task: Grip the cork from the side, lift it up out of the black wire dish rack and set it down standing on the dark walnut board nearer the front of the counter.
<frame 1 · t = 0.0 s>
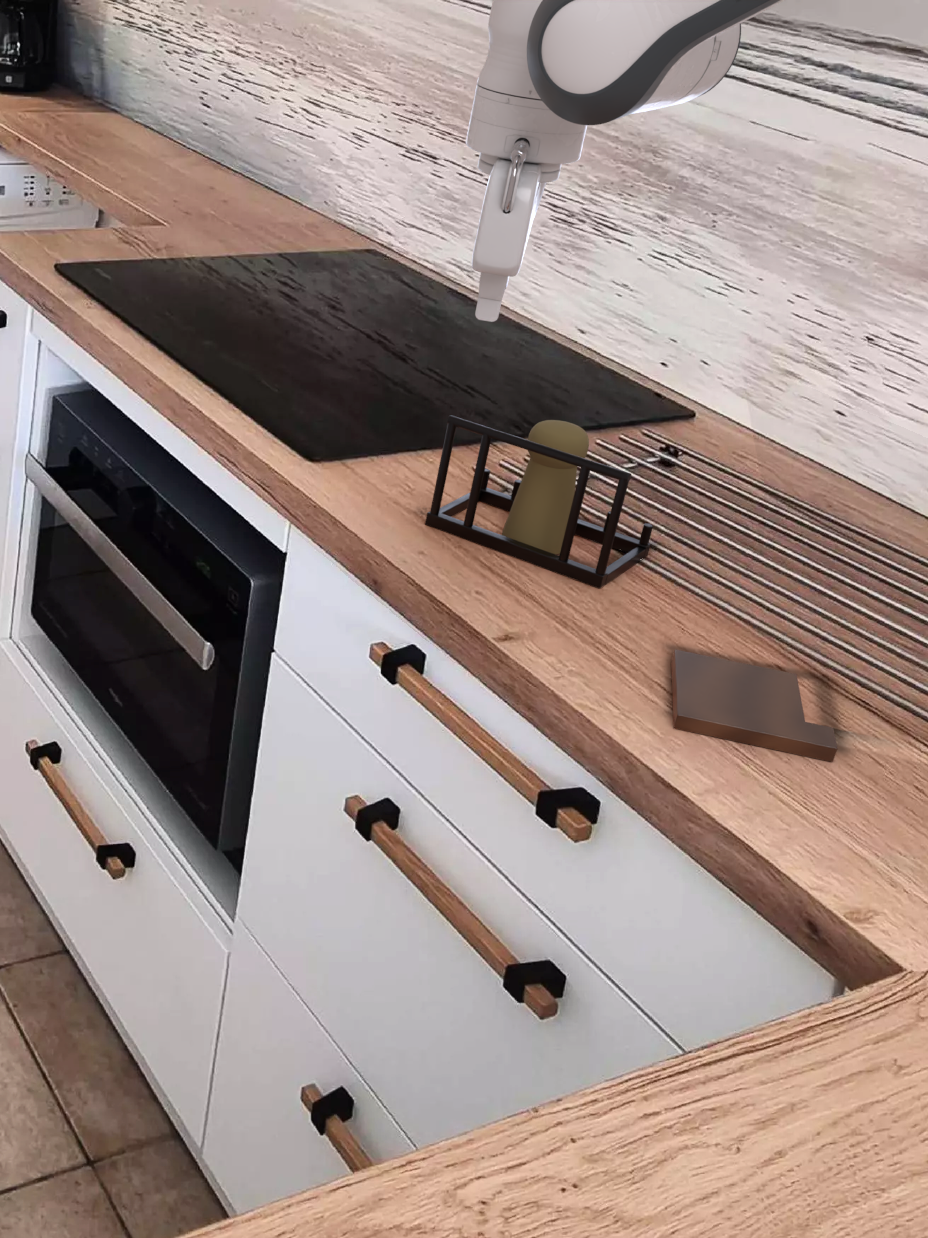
hand: (490, 303, 136), 22 cm above the table, tool pointing down, fingers open, 8 cm apart
cork: (534, 542, 150), resting in dish rack
dish rack: (535, 540, 150), on the table
walnut board: (748, 710, 124), on the table
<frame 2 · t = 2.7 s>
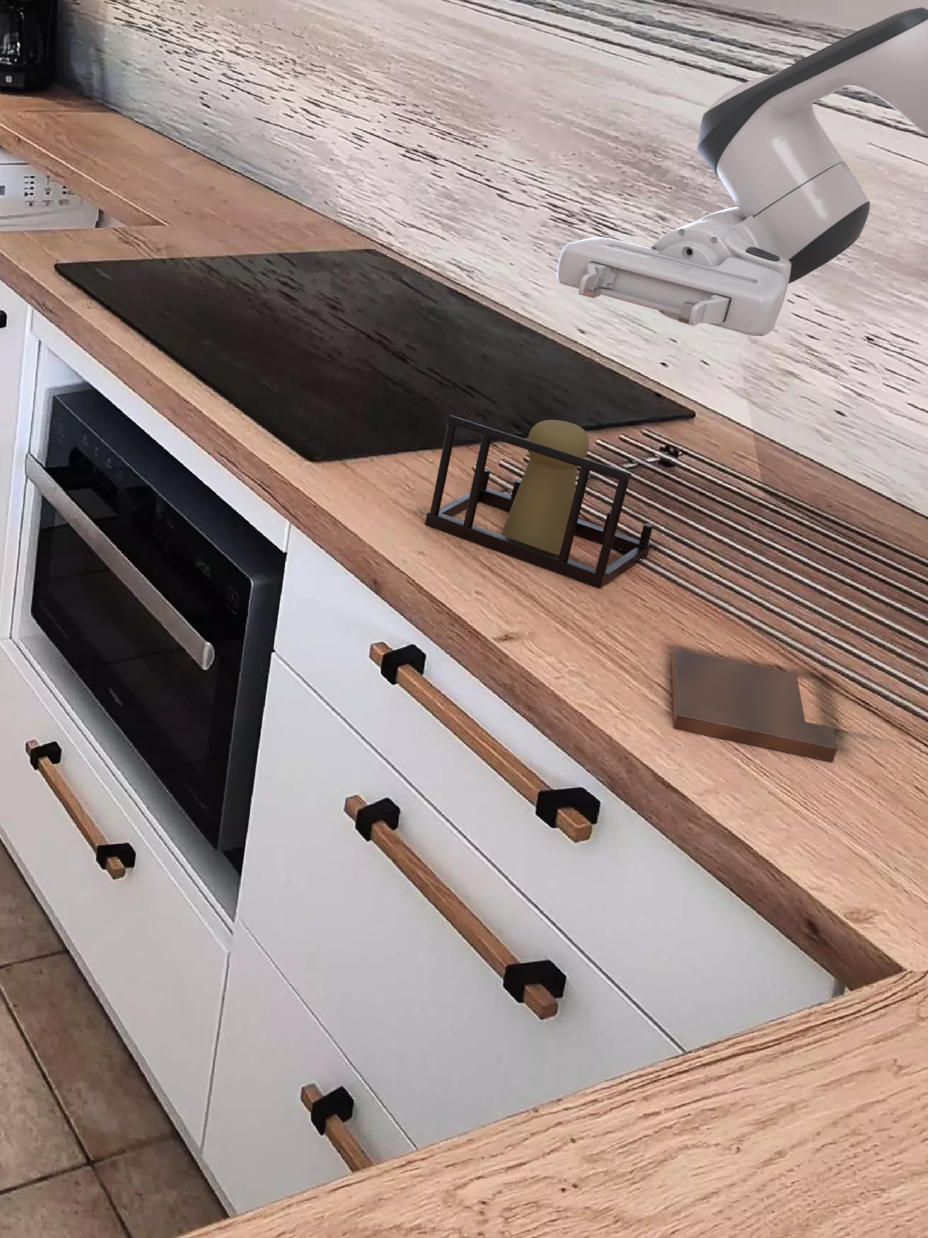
hand: (636, 301, 148), 20 cm above the table, tool horizontal, fingers open, 8 cm apart
nothing on the table moved.
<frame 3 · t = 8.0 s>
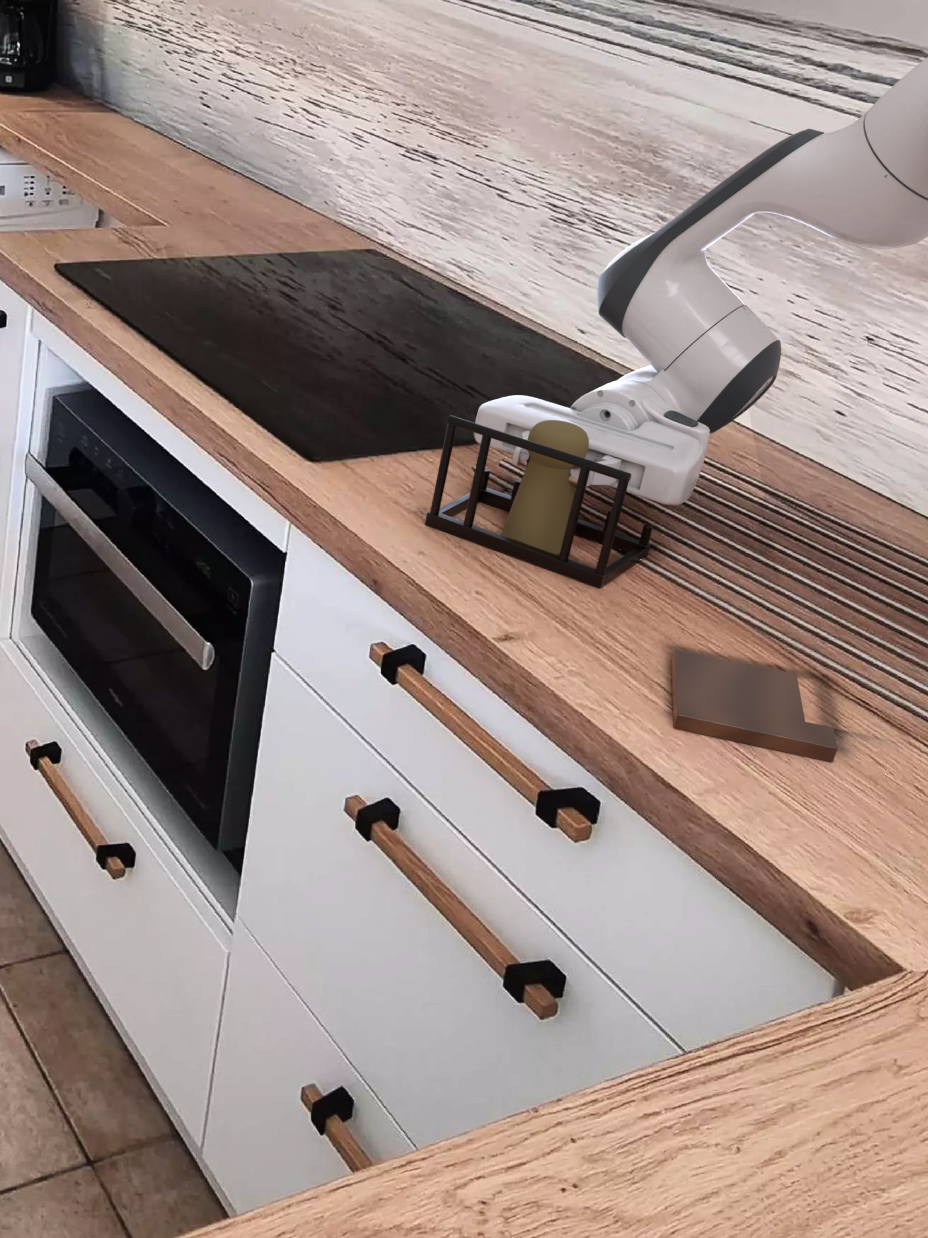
hand: (548, 468, 146), 7 cm above the table, tool horizontal, fingers closed on cork, 4 cm apart
cork: (534, 542, 150), resting in dish rack, touching gripper
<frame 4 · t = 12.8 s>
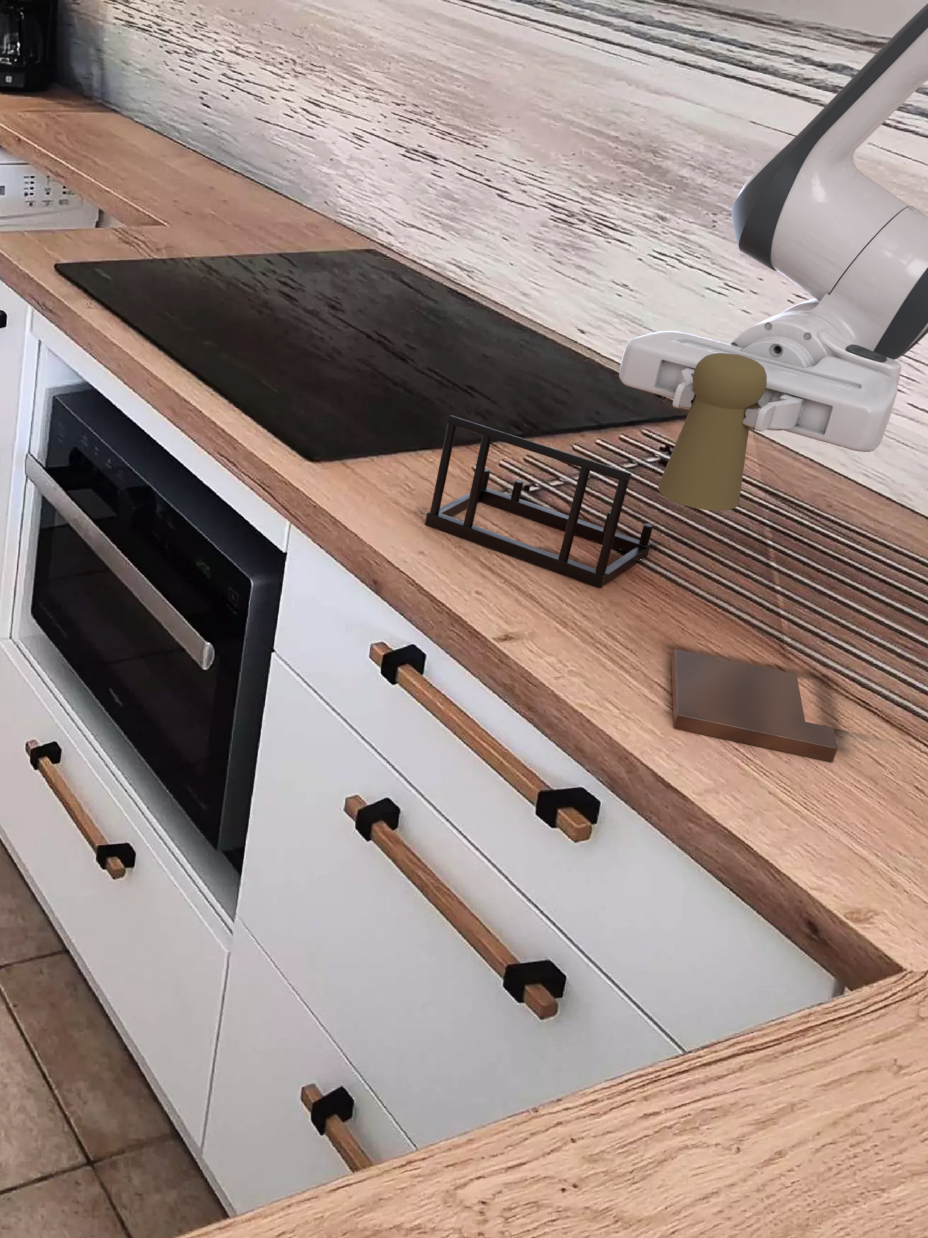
hand: (718, 409, 124), 20 cm above the table, tool horizontal, fingers closed on cork, 4 cm apart
cork: (697, 497, 128), point 12 cm above the table, touching gripper
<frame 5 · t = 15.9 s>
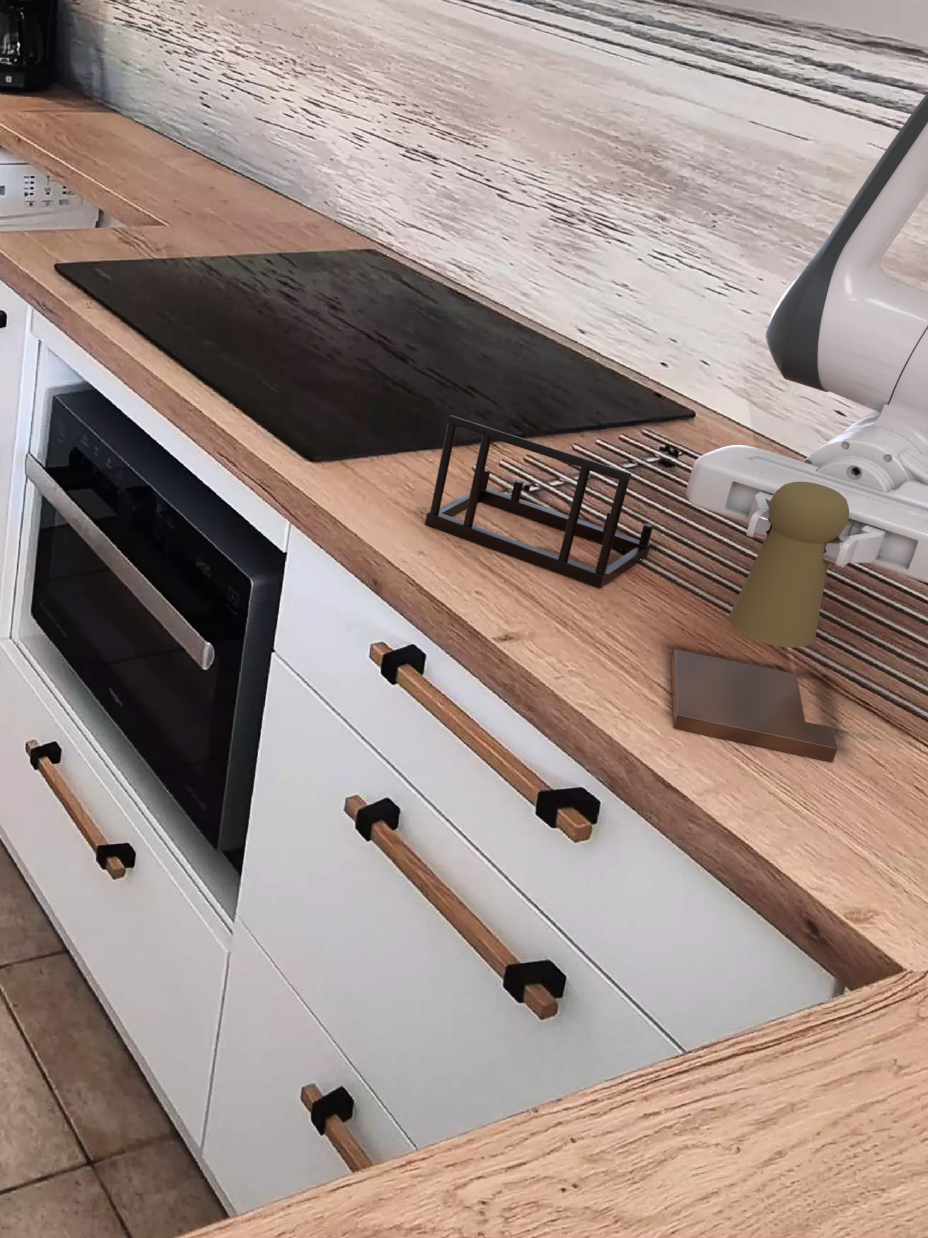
hand: (796, 541, 117), 14 cm above the table, tool horizontal, fingers closed on cork, 4 cm apart
cork: (770, 630, 122), point 7 cm above the table, touching gripper
when the fingers open (8 cm above the table, at t = 17.9 s): cork stays where it is, resting on walnut board.
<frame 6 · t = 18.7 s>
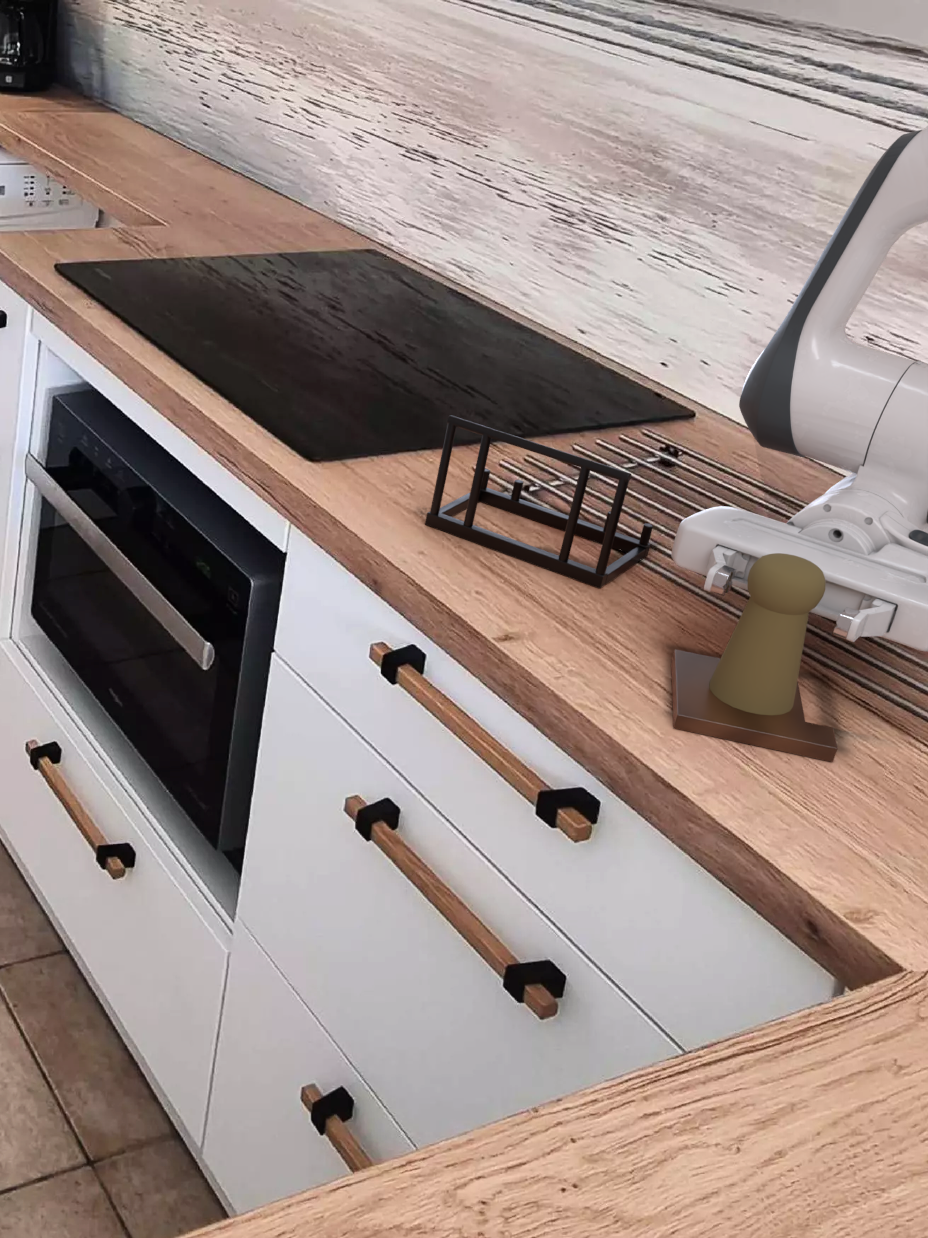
hand: (778, 606, 120), 9 cm above the table, tool horizontal, fingers open, 8 cm apart
cork: (750, 696, 124), point 1 cm above the table, touching walnut board
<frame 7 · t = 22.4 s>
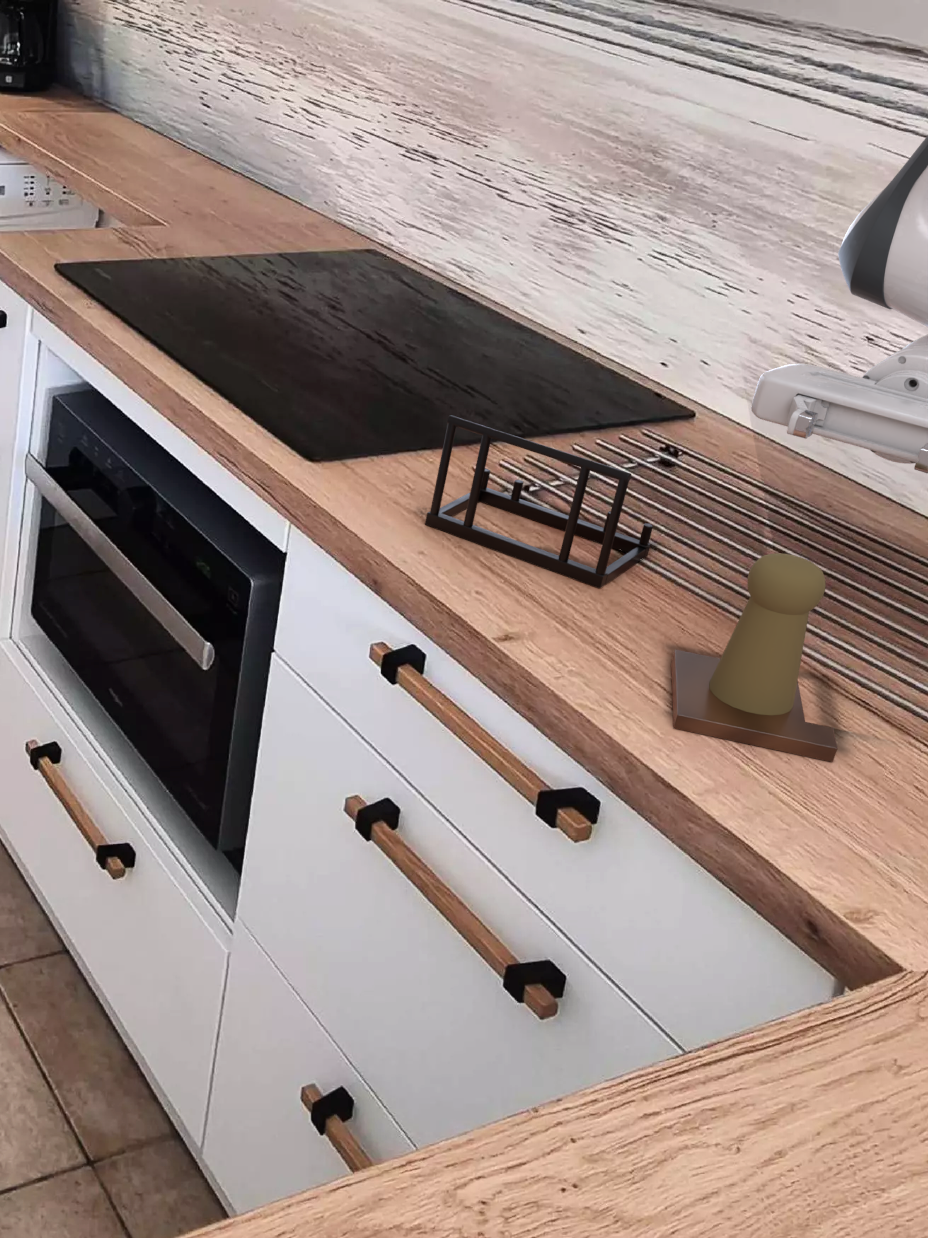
hand: (861, 444, 125), 18 cm above the table, tool horizontal, fingers open, 8 cm apart
nothing on the table moved.
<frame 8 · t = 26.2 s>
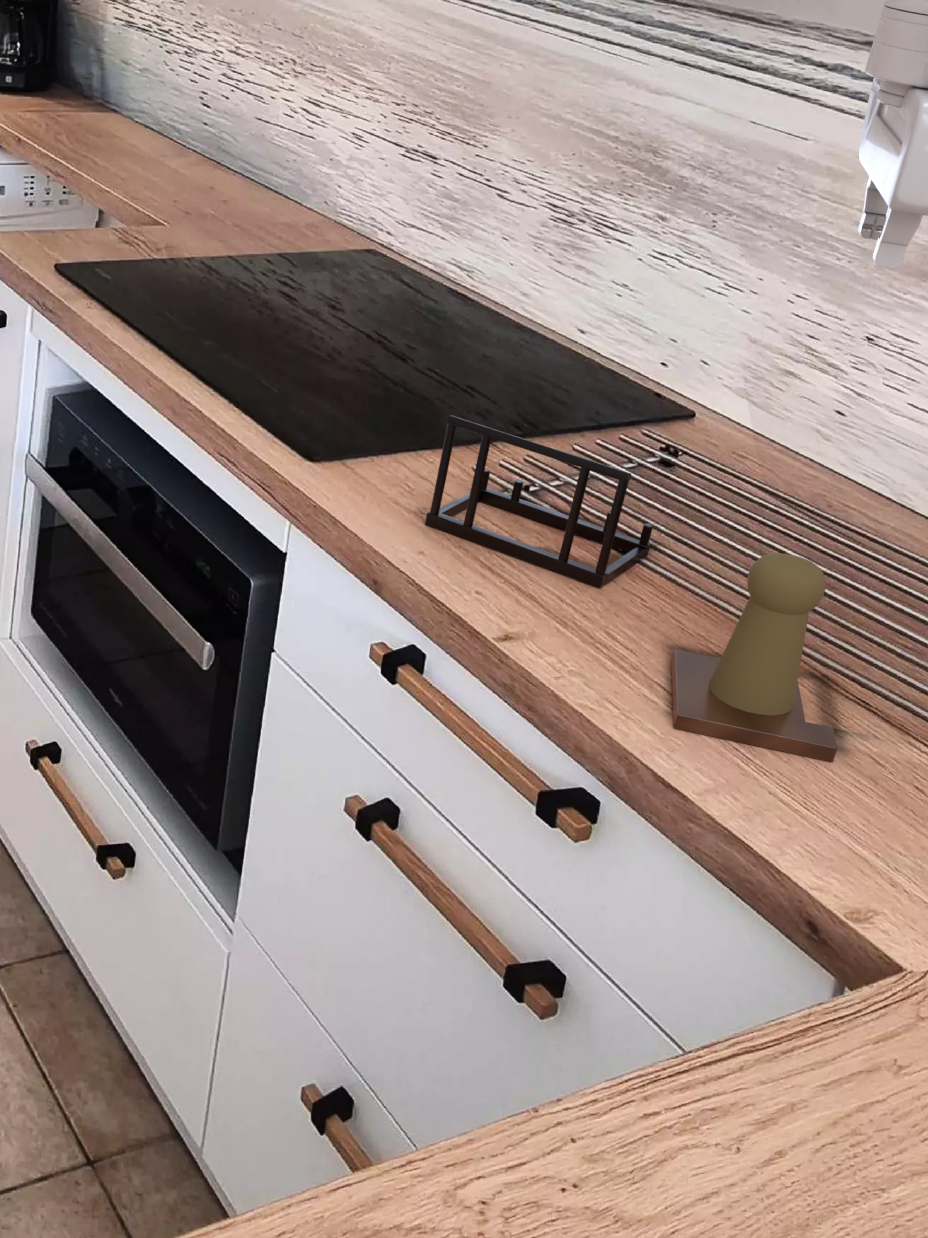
hand: (877, 251, 124), 31 cm above the table, tool pointing down, fingers open, 8 cm apart
nothing on the table moved.
at the end: cork inside the target area on the walnut board (0.2 cm from its centre), point 1.0 cm above the walnut board's base; cork tilted 0°; the gripper is holding nothing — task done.
